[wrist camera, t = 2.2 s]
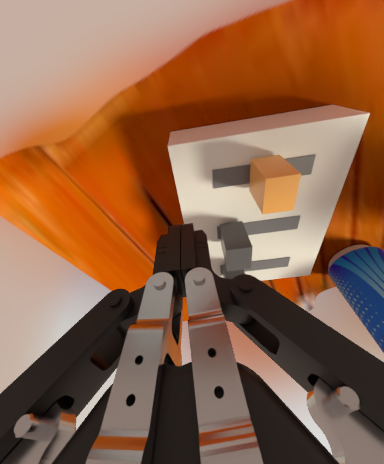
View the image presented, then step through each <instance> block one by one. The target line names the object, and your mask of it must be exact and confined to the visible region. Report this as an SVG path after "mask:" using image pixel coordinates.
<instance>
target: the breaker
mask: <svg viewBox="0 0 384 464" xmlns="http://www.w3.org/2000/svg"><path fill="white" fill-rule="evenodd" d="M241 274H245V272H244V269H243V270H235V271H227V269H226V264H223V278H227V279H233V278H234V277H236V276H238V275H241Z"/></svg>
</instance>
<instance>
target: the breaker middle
mask: <svg viewBox="0 0 384 464" xmlns="http://www.w3.org/2000/svg"><path fill="white" fill-rule="evenodd" d="M220 235H221V246H222V251H223V255H224V260H225V264H226V269H227V271H235V270H243V269H251V262H252V248H253V247H252V244H251V242H250V239H249V237H248V234H247V232H246V229H245V227H244V224H243V222H242V221H239V222H232V223H224V224H220Z"/></svg>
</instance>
